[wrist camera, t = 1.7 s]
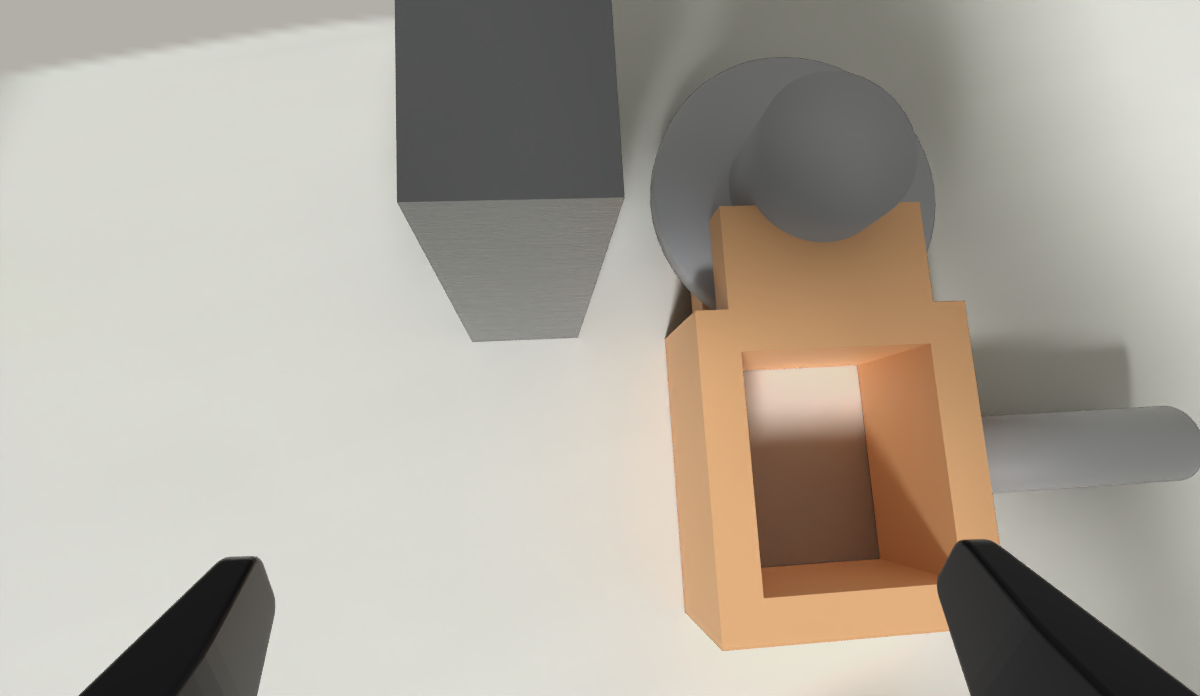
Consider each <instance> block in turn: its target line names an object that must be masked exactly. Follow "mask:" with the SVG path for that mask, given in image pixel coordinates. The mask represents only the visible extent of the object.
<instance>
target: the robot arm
mask: <svg viewBox="0 0 1200 696" xmlns="http://www.w3.org/2000/svg"><path fill="white" fill-rule="evenodd" d="M937 592H938V597H939V600H940V603H941V606H942V609H943V612H944V615H945V618H946V621H947V625H948V628H949V631H950V634H951V637H952V640H953V643H954V646H955V649H956V652H957V655H958V658H959V661H960V665H961V668H962V671H963V674H964V677H965V680H966V683H967V686H968V689H969V692H970V695H971V696H1198V695H1197V694H1195V693H1194V692H1193V691H1191V690H1190V689H1189V688H1188V687H1186V686H1185V685H1184V684H1182V683H1181V682H1180V681H1178V680H1177V679H1176V678H1174V677H1173V676H1172V675H1170V674H1169V673H1168V672H1166V671H1165V670H1164V669H1162V668H1161V667H1160V666H1158V665H1157V664H1156V663H1154V662H1153V661H1152V660H1150V659H1149V658H1148V657H1146V656H1145V655H1144V654H1142V653H1141V652H1140V651H1139V650H1137V649H1136V648H1135V647H1133V646H1132V645H1131V644H1129V643H1128V642H1127V641H1125V640H1124V639H1123V638H1121V637H1120V636H1119V635H1117V634H1116V633H1115V632H1113V631H1112V630H1111V629H1109V628H1108V627H1107V626H1105V625H1104V624H1103V623H1101V622H1100V621H1099V620H1097V619H1096V618H1095V617H1093V616H1092V615H1091V614H1089V613H1088V612H1087V611H1086V610H1084V609H1083V608H1082V607H1080V606H1079V605H1078V604H1076V603H1075V602H1074V601H1072V600H1071V599H1070V598H1068V597H1067V596H1066V595H1064V594H1063V593H1062V592H1060V591H1059V590H1058V589H1056V588H1055V587H1054V586H1052V585H1051V584H1050V583H1048V582H1047V581H1046V580H1044V579H1043V578H1042V577H1040V576H1039V575H1038V574H1036V573H1035V572H1034V571H1033V570H1031V569H1030V568H1029V567H1027V566H1026V565H1025V564H1023V563H1022V562H1021V561H1019V560H1018V559H1017V558H1015V557H1014V556H1013V555H1011V554H1010V553H1009V552H1007V551H1006V550H1005V549H1003V548H1002V547H1001V546H999V545H998V544H996V543H995V542H993V541H991V540H987V539H964V540H960V541H958V542H957V543H956V544H955V545H954V547H953V548H952V550H951V552H950V554H949V556H948V558H947V560H946V562H945V564H944V566H943V568H942V569H941V571H940V573H939V575H938V579H937ZM274 614H275V597H274V593H273V590H272V588H271V585H270V582H269V579H268V576H267V574H266V571H265V568H264V565H263V563H262V561H261V560H260V559H259V558H258V557H255V556H242V557H226V558H224V559H222V560H220V561H219V562H217V563H216V564H215V565H214V566H213V567H212V568H211V569H210V570H209V571H208V572H207V573H206V574H205V575H204V576H203V577H201V578H200V579H199V580H198V581H197V582H196V583H195V584H194V585H193V586H192V587H191V588H190V589H189V590H188V591H187V592H186V593H185V594H184V595H183V596H182V597H181V598H180V599H179V600H178V601H176V602H175V603H174V604H173V605H172V606H171V607H170V608H169V609H168V610H167V611H166V612H165V613H164V614H163V615H162V616H161V617H160V618H159V619H158V620H157V621H156V622H155V623H154V624H153V625H152V626H150V627H149V628H148V629H147V630H146V631H145V632H144V633H143V634H142V635H141V636H140V637H139V638H138V639H137V640H136V641H135V642H134V643H133V644H132V645H131V646H130V647H129V648H128V649H127V650H125V651H124V652H123V653H122V654H121V655H120V656H119V657H118V658H117V659H116V660H115V661H114V662H113V663H112V664H111V665H110V666H109V667H108V668H107V669H106V670H105V671H104V672H103V673H102V674H100V675H99V676H98V677H97V678H96V679H95V680H94V681H93V682H92V683H91V684H90V685H89V686H88V687H87V688H86V689H85V690H84V691H83V692H82V693H81V694H80V695H79V696H257V693H258V689H259V684H260V679H261V675H262V670H263V666H264V661H265V656H266V652H267V647H268V643H269V638H270V633H271V629H272V624H273V619H274Z"/></svg>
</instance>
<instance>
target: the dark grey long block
mask: <svg viewBox="0 0 1200 696" xmlns="http://www.w3.org/2000/svg"><path fill="white" fill-rule="evenodd" d="M395 56H396V140H397V203H398V205H399V206H400V208H401V210H402V212H403V214H404V216H405V218H406V219H407V221H408V223H409V225H410V227H411V229H412V231H413V232H414V234H415V236H416V238H417V240H418V242H419V244H420V245H421V247H422V249H423V251H424V253H425V255H426V257H427V258H428V260H429V262H430V264H431V266H432V268H433V270H434V271H435V273H436V275H437V277H438V279H439V281H440V283H441V284H442V286H443V288H444V290H445V292H446V294H447V296H448V297H449V299H450V301H451V303H452V305H453V307H454V309H455V311H456V312H457V314H458V316H459V318H460V320H461V322H462V324H463V325H464V327H465V329H466V331H467V333H468V335H469V337H470V338H471V340H472V342H480V341H505V340H529V339H554V338H578V335H579V332H580V329H581V326H582V323H583V320H584V317H585V314H586V311H587V308H588V305H589V302H590V299H591V296H592V293H593V290H594V287H595V284H596V281H597V278H598V275H599V272H600V269H601V266H602V263H603V260H604V257H605V254H606V251H607V248H608V245H609V242H610V239H611V236H612V233H613V230H614V227H615V224H616V221H617V218H618V215H619V212H620V209H621V206H622V203H623V200H624V184H623V169H622V154H621V139H620V124H619V109H618V94H617V78H616V63H615V48H614V33H613V18H612V3H611V0H395Z"/></svg>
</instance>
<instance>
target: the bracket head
mask: <svg viewBox="0 0 1200 696" xmlns="http://www.w3.org/2000/svg"><path fill="white" fill-rule="evenodd" d="M650 205H651V212H652V219H653V224H654V228H655V231H656V235H657V239H658V241H659V244H660V246H661V248H662V251H663V253H664V255H665V257H666V259H667V261H668V262H669V264H670V266H671V267H672V269H673V271H674V272H675V274H676V275H677V276H678V278H679V279H680V280H681V281H682V283H683V284H684V285H685V287H686V288H687V289H688V290H689V291H690V292H691V302H692V314H691V315H690V316H689V317H688V318H687V319H686V320H685V321H684V322H682V323H681V324H680V325H679V326H678V327H677V328H676V329H675V330H674V331H673V332H672V333H671V334H670V335H669V336H668V337H667V338H666V339H665V347H666V361H667V374H668V388H669V401H670V415H671V428H672V442H673V456H674V469H675V483H676V496H677V510H678V524H679V537H680V551H681V564H682V578H683V592H684V605H685V613H686V614H687V615H688V616H689V617H690V618H691V619H692V620H693V621H694V622H695V623H696V624H697V625H698V626H699V627H700V628H701V629H702V630H703V631H704V632H705V634H706V635H707V636H708V637H709V638H710V639H711V640H712V641H713V642H714V643H715V644H716V645H717V646H718V647H719V648H720V649H721V650H722V651H729V650H740V649H751V648H763V647H774V646H785V645H797V644H808V643H819V642H830V641H842V640H853V639H864V638H876V637H887V636H898V635H910V634H921V633H932V632H944V631H949V628H948V625H947V621H946V618H945V615H944V612H943V609H942V606H941V603H940V600H939V597H938V592H937V579H938V575H939V573H940V571H941V569H942V568H943V566H944V564H945V562H946V560H947V558H948V556H949V554H950V552H951V550H952V548H953V547H954V545H955V544H956V543H957V542H958V541H960V540H964V539H987V540H991V541H993V542H995V543H996V544H998V545H999V546H1000V543H999V536H998V529H997V522H996V515H995V508H994V501H993V494H992V493H1003V492H1017V491H1032V490H1047V489H1062V488H1077V487H1091V486H1106V485H1121V484H1136V483H1151V482H1165V481H1180V480H1185V479H1187V478H1189V477H1191V476H1193V475H1194V474H1195V473H1196V472H1197V471H1198V470H1199V468H1200V430H1199V428H1198V427H1197V425H1196V424H1195V422H1194V421H1193V420H1192V419H1191V418H1190V417H1189V416H1188V415H1187V414H1185V413H1184V412H1182V411H1181V410H1179V409H1176V408H1173V407H1169V406H1156V407H1138V408H1120V409H1102V410H1084V411H1066V412H1048V413H1030V414H1012V415H994V416H981V411H980V404H979V397H978V390H977V384H976V377H975V370H974V363H973V356H972V349H971V342H970V335H969V328H968V321H967V314H966V307H965V301H939V302H933V296H932V289H931V282H930V274H929V267H928V260H927V249H928V246H929V244H930V241H931V237H932V231H933V226H934V219H935V194H934V184H933V180H932V175H931V170H930V167H929V164H928V161H927V158H926V155H925V152H924V150H923V148H922V146H921V144H920V142H919V140H918V138H917V136H916V134H915V133H914V131H913V128H912V125H911V123H910V121H909V119H908V117H907V115H906V114H905V112H904V111H903V109H902V108H901V106H900V105H899V104H898V103H897V102H896V100H895V99H894V98H893V97H892V96H891V95H890V94H888V93H887V92H886V91H885V90H884V89H882V88H881V87H880V86H878V85H876V84H875V83H873V82H871V81H869V80H867V79H865V78H863V77H860V76H857V75H854V74H851V73H849V72H846V71H844V70H842V69H840V68H837V67H835V66H832V65H828V64H825V63H822V62H819V61H813V60H808V59H803V58H790V57H777V58H764V59H759V60H754V61H749V62H746V63H743V64H740V65H737V66H734V67H731V68H729V69H727V70H725V71H723V72H721V73H719V74H717V75H715V76H714V77H713V78H711V79H710V80H708V81H707V82H705V83H704V84H702V85H701V86H700V87H699V88H698V89H697V90H696V91H694V92H693V93H692V94H691V95H690V96H689V97H688V98H687V100H686V101H685V102H684V103H683V104H682V106H681V107H680V108H679V109H678V111H677V113H676V114H675V116H674V117H673V119H672V121H671V122H670V124H669V126H668V129H667V131H666V133H665V135H664V138H663V140H662V143H661V145H660V148H659V150H658V153H657V156H656V160H655V163H654V167H653V171H652V178H651V186H650ZM850 365H857V367H858V375H859V384H860V392H861V401H862V409H863V418H864V426H865V435H866V443H867V452H868V460H869V469H870V477H871V486H872V494H873V503H874V511H875V520H876V528H877V537H878V545H879V554H880V559H869V560H856V561H843V562H830V563H816V564H803V565H790V566H777V567H764V568H761V563H760V552H759V541H758V530H757V519H756V508H755V497H754V486H753V475H752V464H751V453H750V442H749V431H748V420H747V409H746V398H745V387H744V376H743V370H764V369H786V368H807V367H829V366H850Z"/></svg>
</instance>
